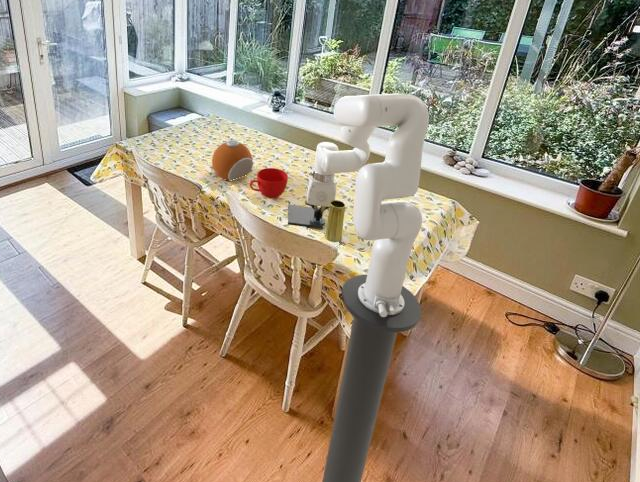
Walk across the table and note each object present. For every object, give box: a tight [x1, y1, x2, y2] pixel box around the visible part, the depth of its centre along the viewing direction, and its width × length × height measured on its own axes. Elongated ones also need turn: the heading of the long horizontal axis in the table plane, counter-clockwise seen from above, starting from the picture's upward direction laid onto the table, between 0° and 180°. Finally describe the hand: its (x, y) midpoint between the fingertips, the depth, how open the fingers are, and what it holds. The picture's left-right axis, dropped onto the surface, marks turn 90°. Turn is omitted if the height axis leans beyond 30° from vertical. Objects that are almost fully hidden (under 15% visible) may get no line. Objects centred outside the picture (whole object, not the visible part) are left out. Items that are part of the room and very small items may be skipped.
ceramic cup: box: [249, 167, 289, 199], centre depth 176 cm, size 13×17×10 cm
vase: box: [324, 199, 347, 243], centre depth 147 cm, size 6×6×14 cm
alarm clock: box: [211, 139, 254, 181], centre depth 192 cm, size 19×18×17 cm
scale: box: [287, 204, 326, 230], centre depth 161 cm, size 15×14×2 cm
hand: (317, 219), depth 156 cm, fingers closed
